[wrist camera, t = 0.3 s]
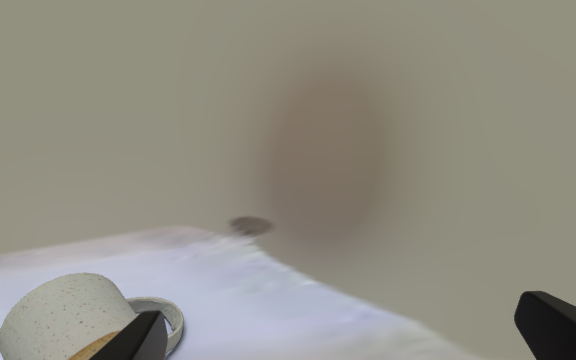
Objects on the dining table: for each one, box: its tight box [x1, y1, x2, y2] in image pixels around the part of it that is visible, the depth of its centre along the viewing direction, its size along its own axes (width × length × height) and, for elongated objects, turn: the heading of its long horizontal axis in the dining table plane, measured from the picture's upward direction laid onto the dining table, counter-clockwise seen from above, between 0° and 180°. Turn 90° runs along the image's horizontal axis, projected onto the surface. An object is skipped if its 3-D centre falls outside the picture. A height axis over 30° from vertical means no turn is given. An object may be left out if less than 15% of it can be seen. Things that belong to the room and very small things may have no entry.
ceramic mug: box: [0, 273, 184, 360], centre depth 22 cm, size 11×8×8 cm
